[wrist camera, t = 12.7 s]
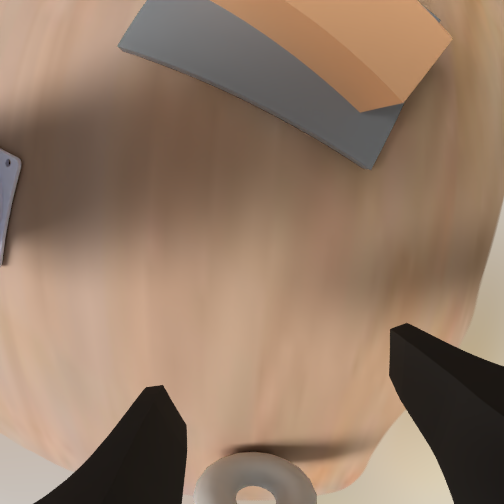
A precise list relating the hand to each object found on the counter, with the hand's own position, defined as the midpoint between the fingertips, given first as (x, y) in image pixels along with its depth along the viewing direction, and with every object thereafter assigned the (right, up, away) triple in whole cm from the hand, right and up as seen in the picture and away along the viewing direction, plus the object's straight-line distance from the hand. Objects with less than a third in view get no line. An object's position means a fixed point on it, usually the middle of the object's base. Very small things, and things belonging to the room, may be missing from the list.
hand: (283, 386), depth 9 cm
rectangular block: (+2, +17, +3) cm, 17 cm away
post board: (+1, +17, +4) cm, 18 cm away
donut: (-1, -14, +15) cm, 20 cm away
